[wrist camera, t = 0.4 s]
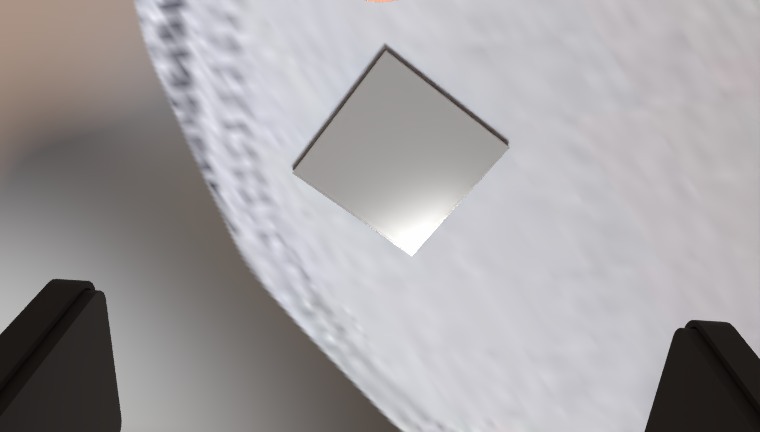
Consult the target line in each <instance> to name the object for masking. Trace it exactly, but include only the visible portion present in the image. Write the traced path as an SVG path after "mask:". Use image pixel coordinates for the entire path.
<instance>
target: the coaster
mask: <svg viewBox="0 0 760 432" xmlns="http://www.w3.org/2000/svg"><path fill="white" fill-rule="evenodd" d="M366 1H375V2H387V1H395V0H366Z"/></svg>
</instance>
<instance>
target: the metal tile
mask: <svg viewBox="0 0 760 432" xmlns="http://www.w3.org/2000/svg"><path fill="white" fill-rule="evenodd" d="M508 149H509V146H508V145H507V144H506V143H505V142H503V141H502V140H501V139H499V138H498V137H497V136H496V135H494V134H493V133H492V132H490V131H489V130H488V129H487V128H485V127H484V126H483V125H482V124H480V123H479V122H478V121H476V120H475V119H474V118H473V117H471V116H470V115H469V114H467V113H466V112H465V111H464V110H462V109H461V108H460V107H459V106H457V105H456V104H455V103H453V102H452V101H451V100H450V99H448V98H447V97H446V96H444V95H443V94H442V93H441V92H439V91H438V90H437V89H436V88H434V87H433V86H432V85H430V84H429V83H428V82H427V81H425V80H424V79H423V78H421V77H420V76H419V75H418V74H416V73H415V72H414V71H413V70H411V69H410V68H409V67H407V66H406V65H405V64H404V63H402V62H401V61H400V60H399V59H397V58H396V57H395V56H393V55H392V54H391V53H390V52H388V51H387V50H385V51H384V53H383V54H382V55H381V57H380V58H379V59H378V60H377V62H376V63H375V64H374V66H373V67H372V68H371V70H370V71H369V72H368V74H367V75H366V76H365V78H364V79H363V80H362V81H361V83H360V84H359V85H358V87H357V88H356V89H355V91H354V92H353V93H352V95H351V96H350V97H349V98H348V100H347V101H346V102H345V104H344V105H343V106H342V108H341V109H340V110H339V112H338V113H337V114H336V116H335V117H334V118H333V119H332V121H331V122H330V123H329V125H328V126H327V127H326V129H325V130H324V131H323V133H322V134H321V135H320V136H319V138H318V139H317V140H316V142H315V143H314V144H313V146H312V147H311V148H310V150H309V151H308V152H307V153H306V155H305V156H304V157H303V159H302V160H301V161H300V163H299V164H298V165H297V167H296V168H295V169H294V171H293V174H295V175H296V176H297V177H299V178H300V179H302V180H303V181H305V182H306V183H307V184H309V185H310V186H312V187H313V188H315V189H316V190H317V191H319V192H320V193H322V194H323V195H325V196H326V197H328V198H329V199H330V200H332V201H333V202H335V203H336V204H338V205H339V206H340V207H342V208H343V209H345V210H346V211H348V212H349V213H351V214H352V215H353V216H355V217H356V218H358V219H359V220H361V221H362V222H363V223H365V224H366V225H368V226H369V227H371V228H372V229H373V230H375V231H376V232H378V233H379V234H381V235H382V236H384V237H385V238H386V239H388V240H389V241H391V242H392V243H394V244H395V245H396V246H398V247H399V248H401V249H402V250H404V251H405V252H407V253H408V254H409V255H411V256H412V255H413V254H414V253H415V252H416V251H417V250H418V249H419V248H420V246H421V245H422V244H423V243H424V242H425V241H426V240H427V239H428V238H429V236H430V235H431V234H432V233H433V232H434V231H435V230H436V229H437V228H438V226H439V225H440V224H441V223H442V222H443V221H444V220H445V219H446V218H447V216H448V215H449V214H450V213H451V212H452V211H453V210H454V209H455V208H456V207H457V205H458V204H459V203H460V202H461V201H462V200H463V199H464V198H465V197H466V195H467V194H468V193H469V192H470V191H471V190H472V189H473V188H474V187H475V185H476V184H477V183H478V182H479V181H480V180H481V179H482V178H483V177H484V175H485V174H486V173H487V172H488V171H489V170H490V169H491V168H492V167H493V165H494V164H495V163H496V162H497V161H498V160H499V159H500V158H501V157H502V155H503V154H504V153H505V152H506V151H507V150H508Z"/></svg>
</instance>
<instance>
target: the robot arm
mask: <svg viewBox="0 0 760 432" xmlns="http://www.w3.org/2000/svg"><path fill="white" fill-rule="evenodd" d="M120 430H121V411H120V404H119V397H118V389H117V381H116V373H115V366H114V358H113V351H112V343H111V335H110V327H109V321H108V312H107V305H106V298H105V295H104V293H103V292H102V291H97V290H95V287H94V285H93V283H91V282H90V281H80V280H64V279H53V280H51V281H50V282H49V283H48V284H47V285H46V286H45V287H44V288H43V289H42V290H41V291H40V292H39V293H38V294H37V296H36V297H35V298H34V299H33V300H32V301H31V302H30V303H29V304H28V305H27V307H25V309H24V310H23V311H22V312H21V313H20V314H19V315H18V316H17V317H16V318H15V319H14V320H13V322H12V323H11V324H10V325H9V326H8V327H7V328H6V329H5V330H4V331H3V332H2V333H1V334H0V432H120ZM645 432H760V359H759V358H758V356H757V355H756V354H755V353H754V351H753V350H752V349H751V348H750V346H749V345H748V344H747V343H746V341H745V340H744V339H743V338H742V337H741V335H740V334H739V333H738V332H737V330H736V329H735V328H734V327H733V326H732V325H731V324H730V323H727V322H717V321H701V320H691V321H689V322H688V323H687V324H686V326H685V328H679V329H677V330H676V332H675V333H674V336H673V339H672V342H671V346H670V349H669V352H668V356H667V359H666V362H665V366H664V369H663V372H662V376H661V379H660V382H659V386H658V389H657V392H656V396H655V399H654V402H653V406H652V409H651V412H650V416H649V419H648V422H647V426H646V429H645Z"/></svg>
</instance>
